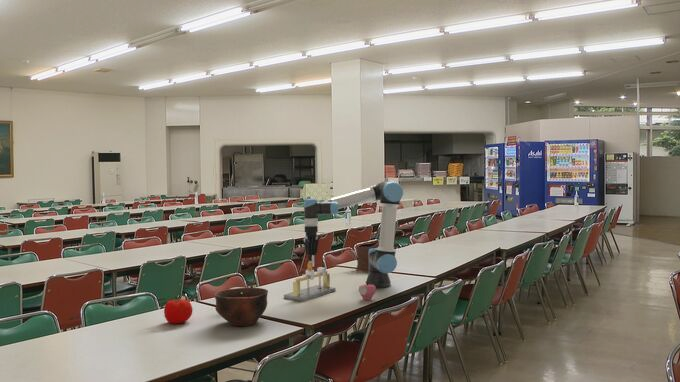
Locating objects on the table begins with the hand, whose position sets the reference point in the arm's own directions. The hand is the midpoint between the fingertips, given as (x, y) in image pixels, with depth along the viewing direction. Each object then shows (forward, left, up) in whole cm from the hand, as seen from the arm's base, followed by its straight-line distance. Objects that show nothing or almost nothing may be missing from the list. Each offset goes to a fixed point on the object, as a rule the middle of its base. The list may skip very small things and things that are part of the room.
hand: (311, 266), depth 315 cm
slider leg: (0, +2, -14) cm, 14 cm away
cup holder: (+18, -82, -17) cm, 86 cm away
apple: (-34, -7, -17) cm, 38 cm away
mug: (+12, +44, -17) cm, 49 cm away
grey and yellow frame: (+1, 0, -17) cm, 17 cm away
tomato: (+18, +79, -17) cm, 83 cm away
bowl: (-9, +63, -17) cm, 66 cm away
